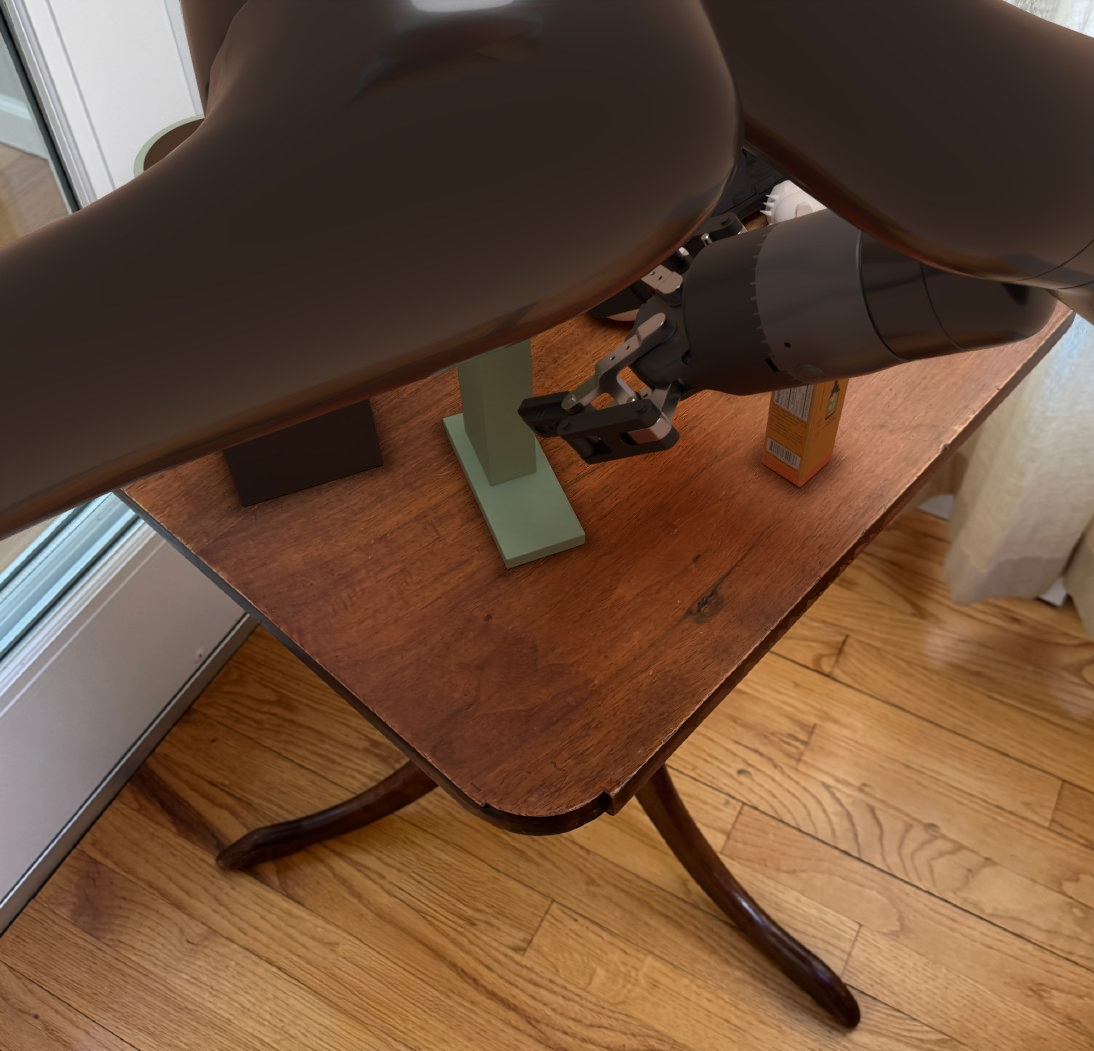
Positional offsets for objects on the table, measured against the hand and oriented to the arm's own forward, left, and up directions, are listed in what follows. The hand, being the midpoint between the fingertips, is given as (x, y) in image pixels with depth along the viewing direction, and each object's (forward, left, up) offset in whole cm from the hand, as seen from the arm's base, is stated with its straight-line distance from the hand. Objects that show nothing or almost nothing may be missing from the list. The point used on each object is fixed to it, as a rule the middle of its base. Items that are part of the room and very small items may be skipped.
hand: (558, 358), depth 63 cm
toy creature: (+24, +11, -7) cm, 27 cm away
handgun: (+21, +20, 0) cm, 29 cm away
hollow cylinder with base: (-15, +9, -10) cm, 20 cm away
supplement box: (+14, -5, -10) cm, 18 cm away
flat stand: (-3, 0, -10) cm, 11 cm away
